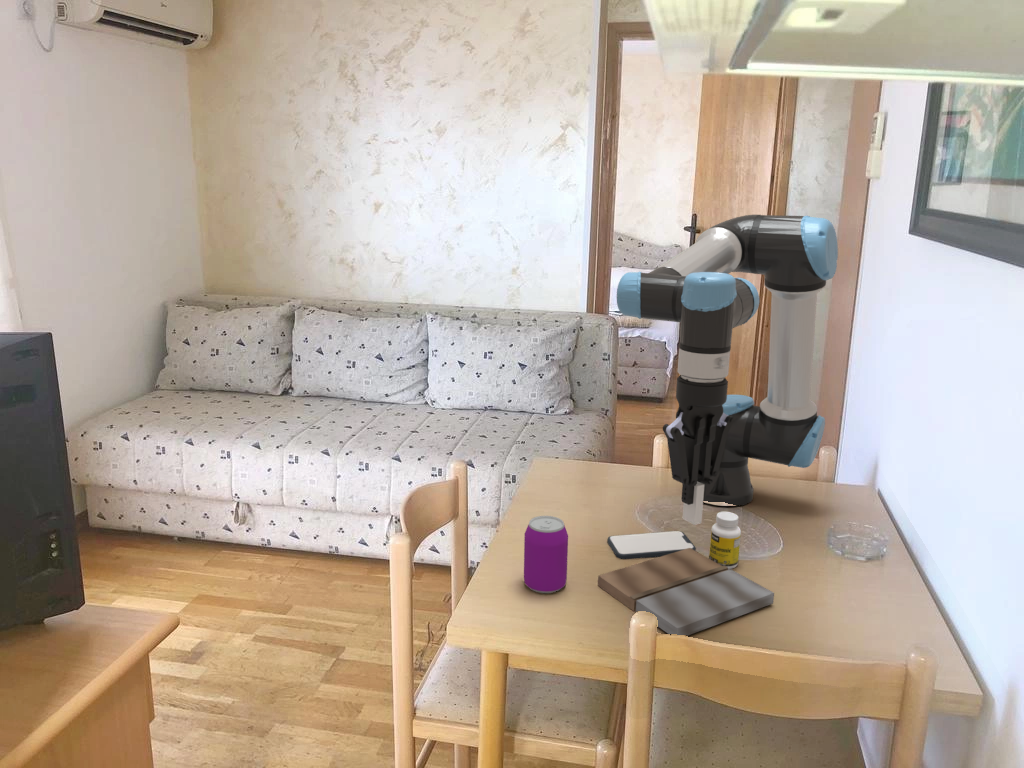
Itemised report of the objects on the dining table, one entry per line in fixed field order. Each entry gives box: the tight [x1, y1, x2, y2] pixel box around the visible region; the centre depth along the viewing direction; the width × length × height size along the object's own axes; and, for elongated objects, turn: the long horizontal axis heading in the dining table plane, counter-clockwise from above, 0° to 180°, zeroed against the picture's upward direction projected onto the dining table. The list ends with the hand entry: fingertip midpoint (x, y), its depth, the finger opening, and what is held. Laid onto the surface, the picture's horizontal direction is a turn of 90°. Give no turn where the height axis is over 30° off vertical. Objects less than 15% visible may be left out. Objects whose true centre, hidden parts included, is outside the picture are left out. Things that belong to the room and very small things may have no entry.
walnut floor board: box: [597, 548, 729, 612], centre depth 144 cm, size 22×10×2 cm, turn 121°
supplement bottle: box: [708, 511, 742, 570], centre depth 151 cm, size 5×5×10 cm
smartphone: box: [606, 530, 697, 560], centre depth 158 cm, size 9×2×16 cm
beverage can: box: [523, 515, 569, 594], centre depth 142 cm, size 8×8×12 cm
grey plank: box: [635, 569, 775, 637], centre depth 135 cm, size 22×10×2 cm, turn 121°
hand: (691, 520), depth 127 cm, fingers closed
